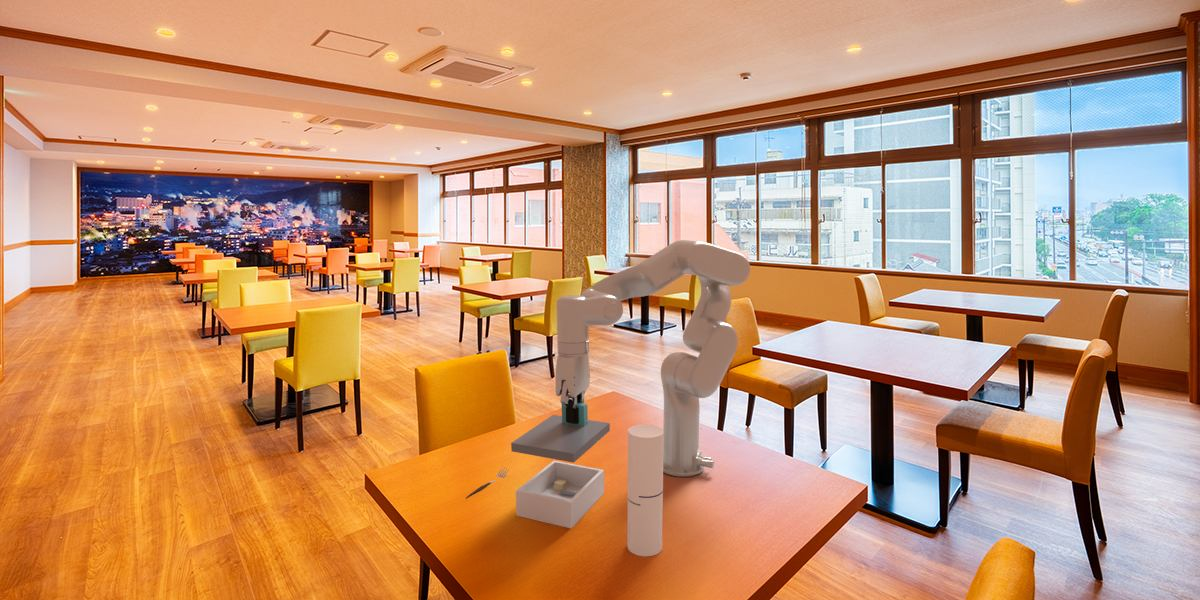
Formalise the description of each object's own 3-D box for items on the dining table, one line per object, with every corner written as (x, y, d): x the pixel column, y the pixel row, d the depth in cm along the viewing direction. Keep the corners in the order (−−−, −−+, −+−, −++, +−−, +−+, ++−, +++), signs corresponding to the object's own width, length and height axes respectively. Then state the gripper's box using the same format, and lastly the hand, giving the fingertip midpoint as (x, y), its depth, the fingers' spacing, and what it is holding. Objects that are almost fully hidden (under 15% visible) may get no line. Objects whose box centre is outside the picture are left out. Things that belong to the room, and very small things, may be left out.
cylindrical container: (660, 558, 116) (662, 438, 113) (624, 554, 118) (625, 436, 114) (663, 539, 123) (665, 425, 119) (630, 535, 124) (630, 423, 121)
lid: (609, 430, 142) (609, 403, 141) (573, 462, 124) (573, 431, 123) (553, 422, 148) (552, 395, 147) (511, 451, 130) (510, 421, 129)
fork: (461, 498, 142) (461, 491, 141) (502, 473, 155) (502, 466, 155) (470, 501, 140) (469, 493, 140) (510, 475, 154) (510, 468, 154)
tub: (604, 493, 143) (604, 470, 143) (571, 528, 127) (570, 502, 126) (554, 482, 149) (553, 460, 148) (516, 515, 133) (515, 490, 132)
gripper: (574, 339, 147) (575, 409, 150) (543, 353, 133) (545, 430, 136) (601, 341, 144) (602, 412, 147) (572, 356, 130) (574, 434, 133)
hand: (574, 420), depth 141 cm, fingers closed on lid
